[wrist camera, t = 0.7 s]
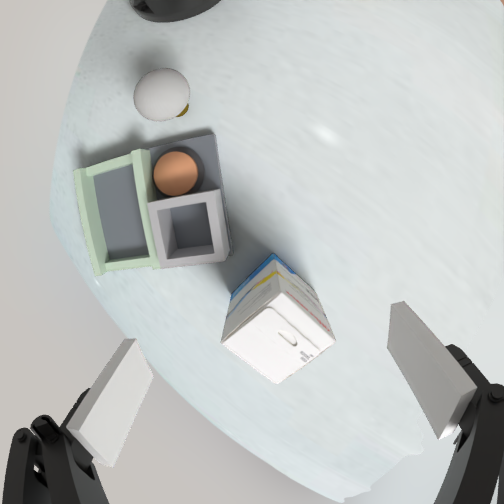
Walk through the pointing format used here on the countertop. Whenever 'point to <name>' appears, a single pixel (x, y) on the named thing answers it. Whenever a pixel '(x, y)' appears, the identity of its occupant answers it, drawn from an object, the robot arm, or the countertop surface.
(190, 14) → the robot arm
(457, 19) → the countertop surface
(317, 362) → the countertop surface
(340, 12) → the countertop surface
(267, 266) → the ink box
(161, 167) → the checker pad
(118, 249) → the compartment tray
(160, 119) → the light bulb
